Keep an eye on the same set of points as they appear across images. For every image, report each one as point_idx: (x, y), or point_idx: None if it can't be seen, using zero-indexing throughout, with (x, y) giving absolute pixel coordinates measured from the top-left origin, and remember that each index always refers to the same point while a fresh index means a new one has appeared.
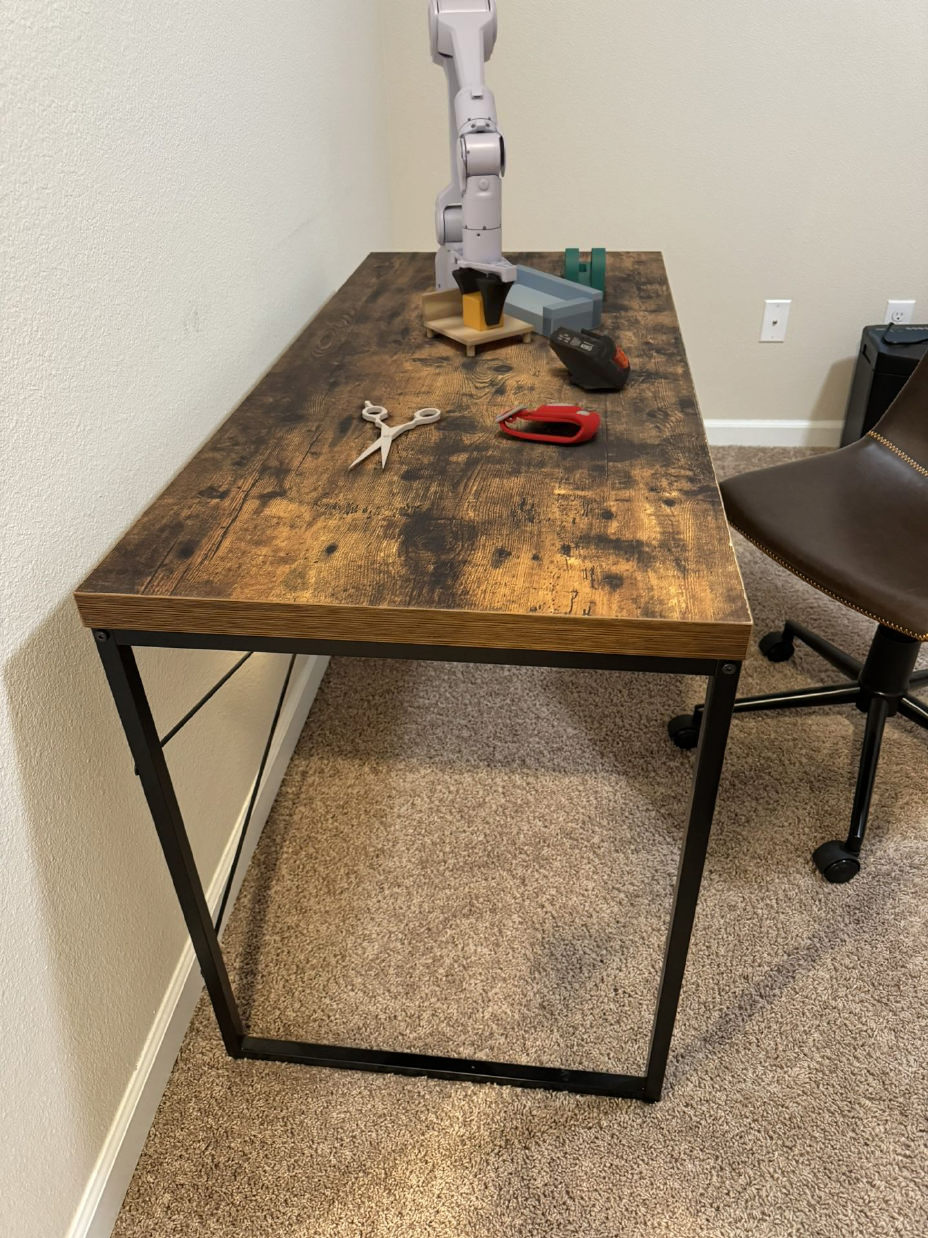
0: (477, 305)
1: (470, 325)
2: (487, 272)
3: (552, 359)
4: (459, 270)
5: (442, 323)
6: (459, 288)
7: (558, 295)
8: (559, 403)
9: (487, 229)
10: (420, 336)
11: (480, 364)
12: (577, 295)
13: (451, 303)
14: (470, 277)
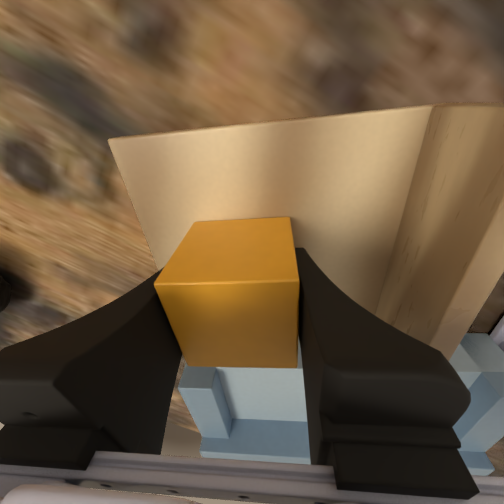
0: (173, 268)
1: (244, 221)
2: (133, 462)
3: (81, 282)
4: (415, 414)
5: (353, 158)
6: (355, 303)
7: (301, 426)
8: None
9: None
10: (432, 88)
11: (73, 133)
12: (245, 437)
13: (420, 253)
14: (314, 389)
